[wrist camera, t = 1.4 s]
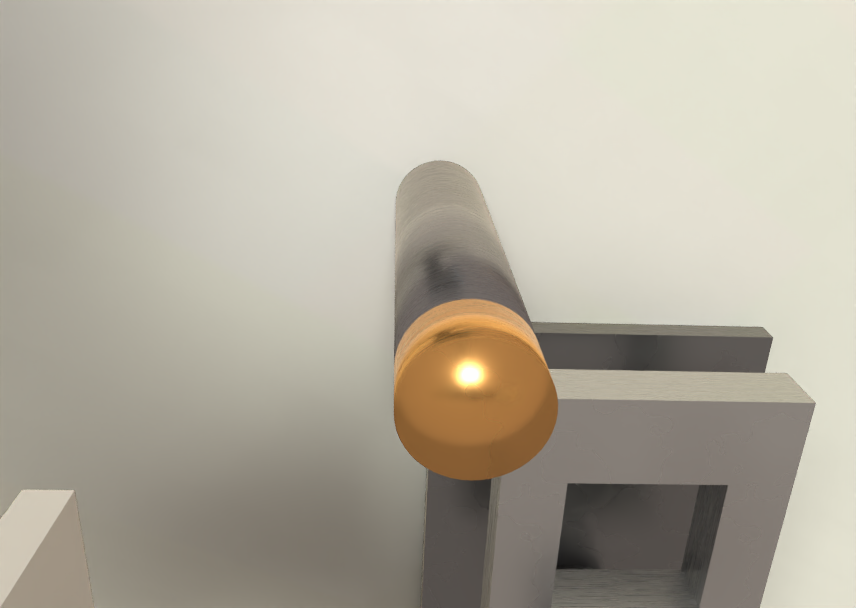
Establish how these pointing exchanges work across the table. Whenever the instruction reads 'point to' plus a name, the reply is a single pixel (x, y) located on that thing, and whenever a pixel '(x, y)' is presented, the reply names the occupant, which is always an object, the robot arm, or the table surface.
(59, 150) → the table surface
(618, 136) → the table surface
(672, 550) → the square hole plate
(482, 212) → the copper tipped metal rod
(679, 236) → the table surface
